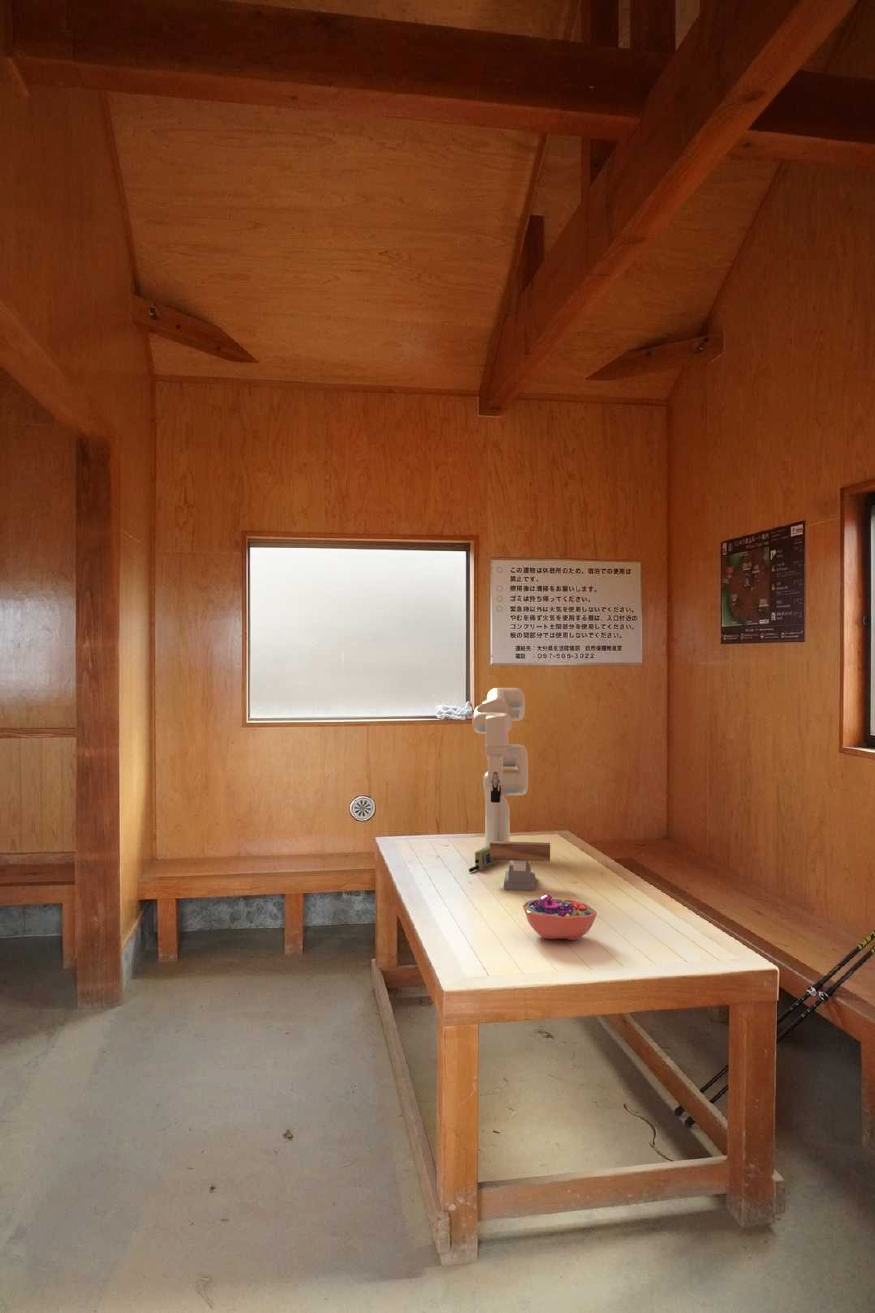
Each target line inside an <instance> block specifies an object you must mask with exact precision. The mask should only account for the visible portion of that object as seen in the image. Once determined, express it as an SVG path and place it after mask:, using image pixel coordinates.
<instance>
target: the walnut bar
mask: <svg viewBox="0 0 875 1313" xmlns="http://www.w3.org/2000/svg"><path fill="white" fill-rule="evenodd" d="M490 860H501V861H510V860H513V861H531V862H544V863H545V862H547V863H550V862H551V843H550V842H541V841H540V842H539V841H537V842H534V841H532V842H531V841H510V842H508V841H490Z"/></svg>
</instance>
